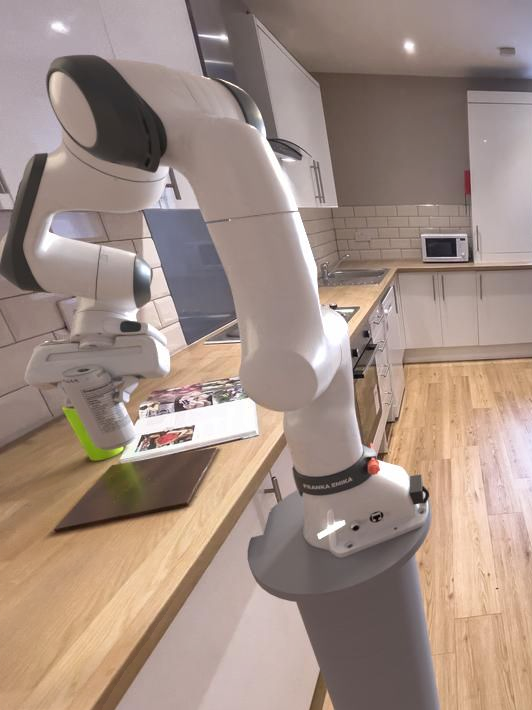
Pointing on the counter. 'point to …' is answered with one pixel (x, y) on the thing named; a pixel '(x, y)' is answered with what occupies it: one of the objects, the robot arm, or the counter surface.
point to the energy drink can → (98, 406)
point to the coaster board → (141, 489)
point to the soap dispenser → (88, 438)
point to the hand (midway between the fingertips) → (96, 404)
